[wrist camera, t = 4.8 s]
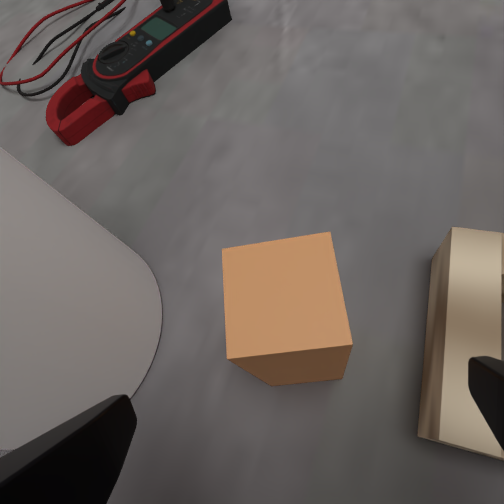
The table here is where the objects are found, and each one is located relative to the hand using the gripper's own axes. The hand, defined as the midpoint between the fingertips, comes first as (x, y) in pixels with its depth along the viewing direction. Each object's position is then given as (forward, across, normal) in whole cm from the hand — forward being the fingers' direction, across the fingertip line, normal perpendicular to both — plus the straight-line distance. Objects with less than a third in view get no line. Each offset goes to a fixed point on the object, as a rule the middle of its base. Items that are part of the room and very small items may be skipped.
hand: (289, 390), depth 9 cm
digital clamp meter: (+36, -16, +18) cm, 43 cm away
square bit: (+10, 0, -6) cm, 12 cm away
